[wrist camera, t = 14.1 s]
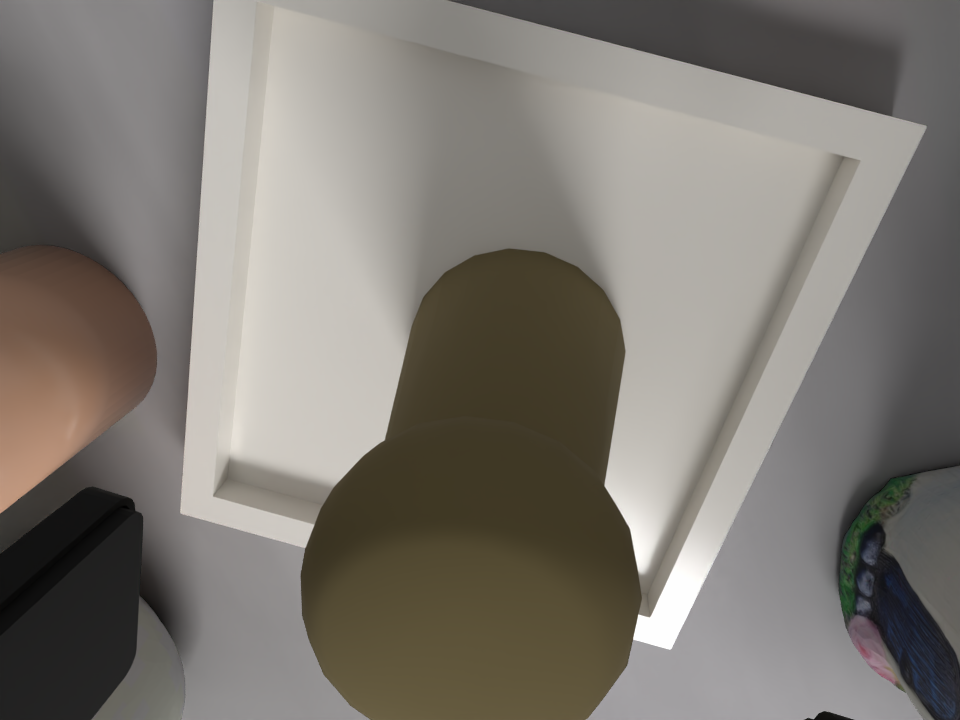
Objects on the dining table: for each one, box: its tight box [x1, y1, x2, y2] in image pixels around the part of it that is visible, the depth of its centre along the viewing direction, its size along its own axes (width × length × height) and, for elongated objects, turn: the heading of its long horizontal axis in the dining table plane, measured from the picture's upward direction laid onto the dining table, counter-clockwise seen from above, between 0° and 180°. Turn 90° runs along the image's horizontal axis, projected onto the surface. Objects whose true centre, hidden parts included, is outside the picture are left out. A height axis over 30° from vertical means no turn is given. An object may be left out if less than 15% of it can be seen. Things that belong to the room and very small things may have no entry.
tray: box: [180, 0, 927, 650], centre depth 19 cm, size 16×16×2 cm
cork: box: [301, 248, 642, 720], centre depth 14 cm, size 6×6×11 cm
